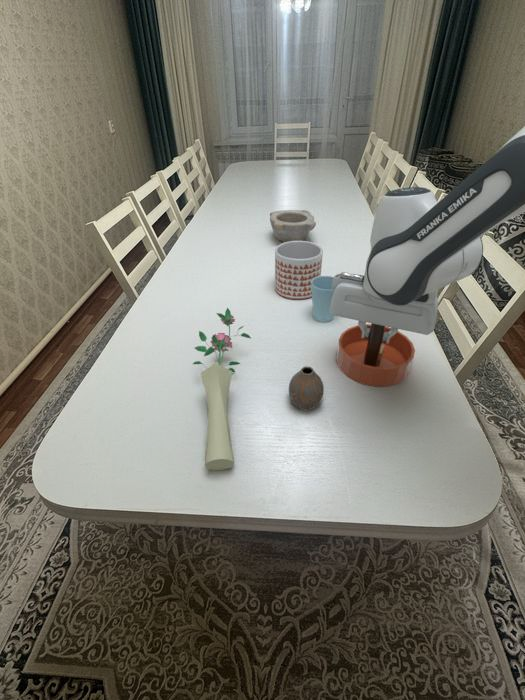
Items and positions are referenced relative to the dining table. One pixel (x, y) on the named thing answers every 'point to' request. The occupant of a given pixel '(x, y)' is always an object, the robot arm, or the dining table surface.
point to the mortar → (292, 224)
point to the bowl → (392, 361)
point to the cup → (322, 298)
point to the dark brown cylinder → (374, 344)
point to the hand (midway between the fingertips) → (375, 339)
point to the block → (380, 354)
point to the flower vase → (218, 399)
